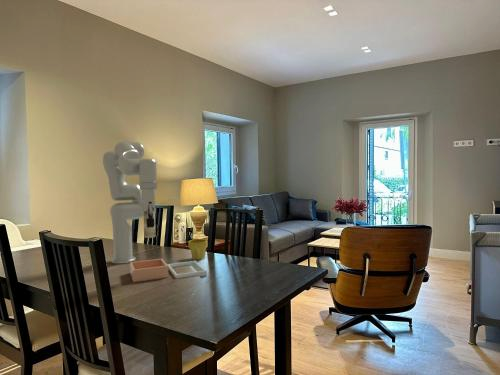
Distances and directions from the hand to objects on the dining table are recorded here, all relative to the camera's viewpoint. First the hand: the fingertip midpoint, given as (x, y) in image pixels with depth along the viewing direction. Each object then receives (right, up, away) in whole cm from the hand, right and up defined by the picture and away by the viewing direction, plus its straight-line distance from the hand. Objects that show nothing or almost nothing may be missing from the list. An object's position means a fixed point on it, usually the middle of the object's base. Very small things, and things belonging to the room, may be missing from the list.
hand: (149, 225), depth 157 cm
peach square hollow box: (-1, -23, +1) cm, 23 cm away
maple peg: (0, -5, 0) cm, 5 cm away
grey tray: (+15, -23, +7) cm, 28 cm away
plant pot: (+17, -22, +34) cm, 44 cm away
